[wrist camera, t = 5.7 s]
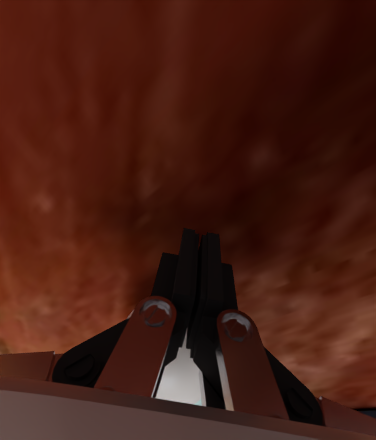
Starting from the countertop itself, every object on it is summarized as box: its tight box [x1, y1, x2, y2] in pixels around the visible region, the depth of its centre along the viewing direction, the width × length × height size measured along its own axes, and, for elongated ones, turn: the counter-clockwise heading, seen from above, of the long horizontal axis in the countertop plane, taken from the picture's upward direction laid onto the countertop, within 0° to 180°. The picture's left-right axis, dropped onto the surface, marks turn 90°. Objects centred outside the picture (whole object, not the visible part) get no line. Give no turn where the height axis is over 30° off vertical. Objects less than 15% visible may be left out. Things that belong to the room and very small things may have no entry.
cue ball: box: [127, 310, 201, 404], centre depth 13 cm, size 6×6×6 cm
